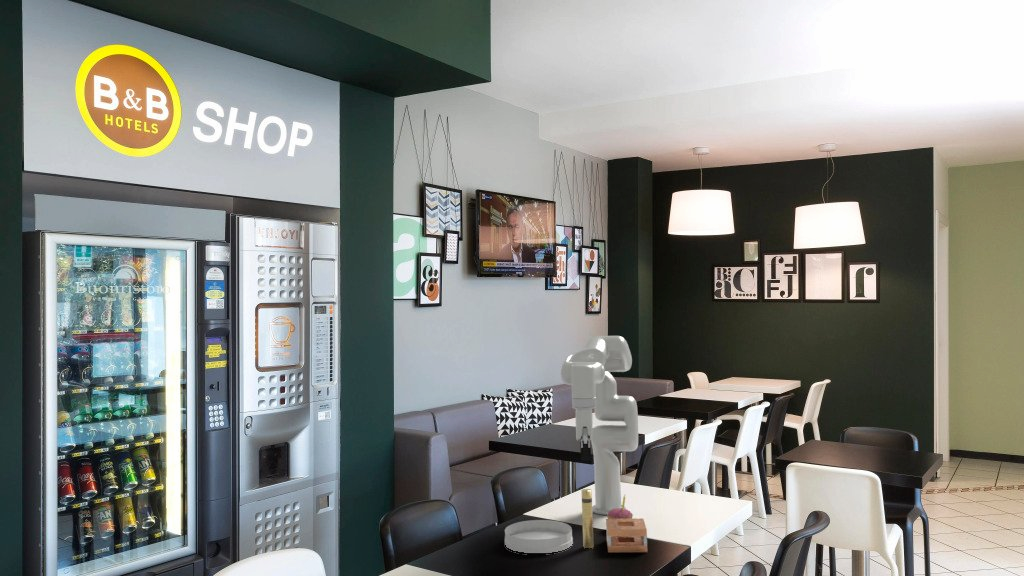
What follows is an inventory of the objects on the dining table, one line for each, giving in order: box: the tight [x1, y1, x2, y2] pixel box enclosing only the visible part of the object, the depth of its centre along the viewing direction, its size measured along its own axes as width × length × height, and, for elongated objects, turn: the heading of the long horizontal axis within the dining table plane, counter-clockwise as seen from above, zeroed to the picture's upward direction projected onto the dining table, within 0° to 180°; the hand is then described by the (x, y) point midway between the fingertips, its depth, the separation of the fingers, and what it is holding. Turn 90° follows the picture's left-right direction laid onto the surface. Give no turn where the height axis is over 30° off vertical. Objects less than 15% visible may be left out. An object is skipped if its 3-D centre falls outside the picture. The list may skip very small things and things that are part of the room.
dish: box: [504, 519, 574, 553], centre depth 247 cm, size 22×22×5 cm
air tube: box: [581, 488, 595, 550], centre depth 242 cm, size 3×3×18 cm
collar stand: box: [605, 518, 648, 553], centre depth 242 cm, size 12×12×7 cm
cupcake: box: [606, 495, 634, 519], centre depth 260 cm, size 9×8×12 cm
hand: (585, 457), depth 243 cm, fingers open, 9 cm apart
